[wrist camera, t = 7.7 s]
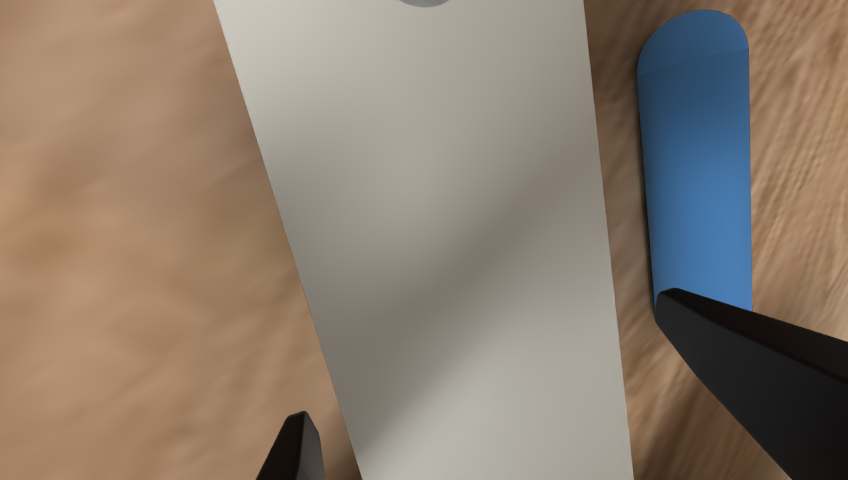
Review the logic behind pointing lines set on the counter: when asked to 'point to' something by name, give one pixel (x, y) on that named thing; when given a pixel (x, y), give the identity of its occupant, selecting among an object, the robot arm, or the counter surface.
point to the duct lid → (445, 227)
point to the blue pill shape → (698, 156)
